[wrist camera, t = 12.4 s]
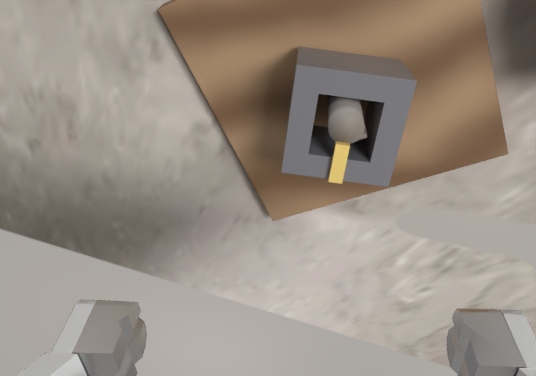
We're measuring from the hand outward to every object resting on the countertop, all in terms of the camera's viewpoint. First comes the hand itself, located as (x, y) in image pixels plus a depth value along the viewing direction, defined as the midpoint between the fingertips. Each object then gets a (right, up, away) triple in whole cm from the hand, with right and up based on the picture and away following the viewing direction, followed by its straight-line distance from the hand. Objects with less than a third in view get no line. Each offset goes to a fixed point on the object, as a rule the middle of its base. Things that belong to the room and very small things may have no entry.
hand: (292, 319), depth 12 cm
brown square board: (+4, +11, +20) cm, 23 cm away
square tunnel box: (+4, +9, +18) cm, 21 cm away
